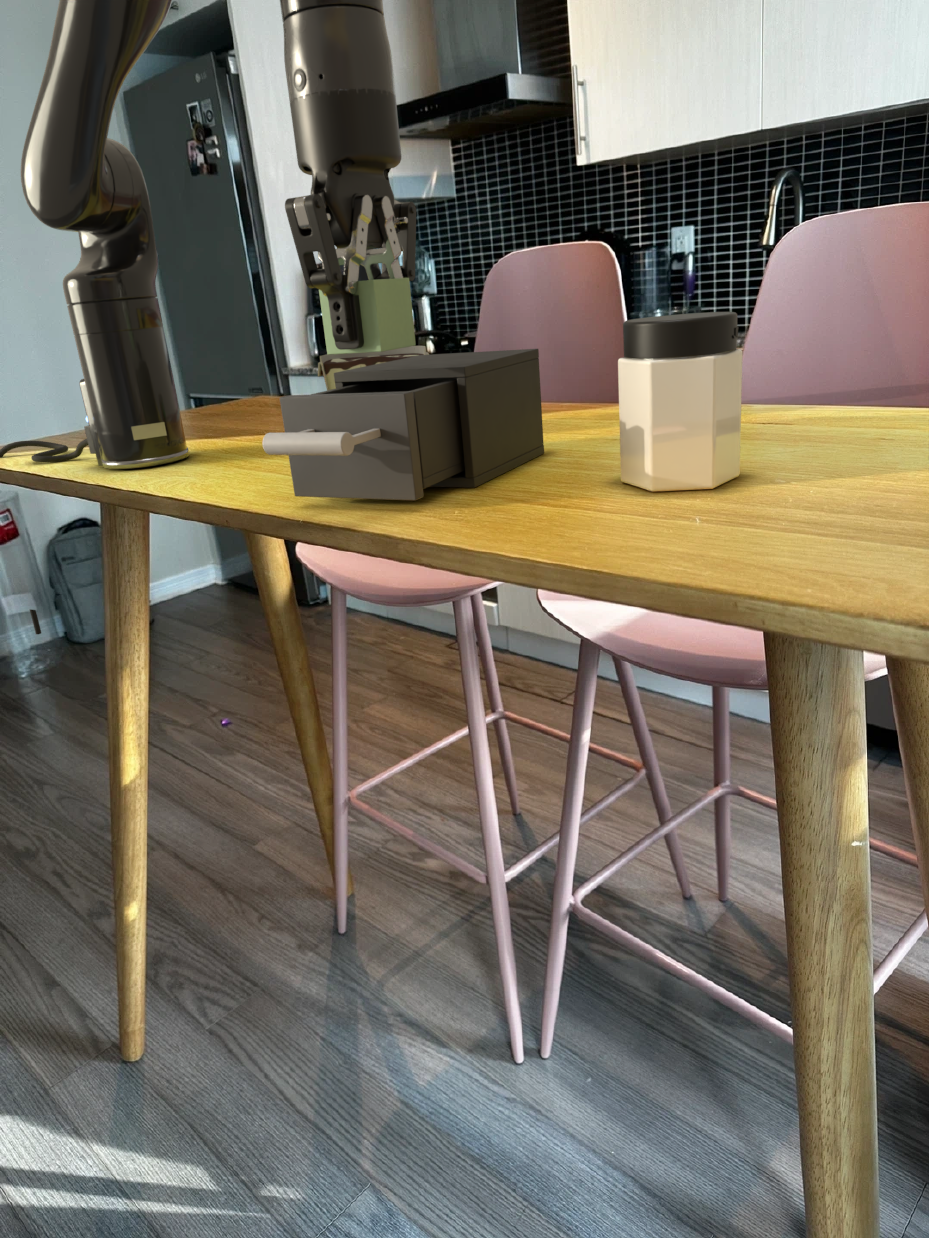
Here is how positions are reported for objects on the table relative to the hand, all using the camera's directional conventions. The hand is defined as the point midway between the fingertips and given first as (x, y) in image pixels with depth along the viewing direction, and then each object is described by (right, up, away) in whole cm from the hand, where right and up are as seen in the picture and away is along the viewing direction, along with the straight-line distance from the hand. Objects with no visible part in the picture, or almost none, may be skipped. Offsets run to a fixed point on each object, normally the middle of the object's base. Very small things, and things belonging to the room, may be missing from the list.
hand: (371, 344), depth 68 cm
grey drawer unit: (+6, -7, +13) cm, 16 cm away
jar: (+24, -11, 0) cm, 26 cm away
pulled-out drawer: (+1, -11, +3) cm, 11 cm away
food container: (-1, -2, +30) cm, 30 cm away
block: (0, 0, 0) cm, 0 cm away
